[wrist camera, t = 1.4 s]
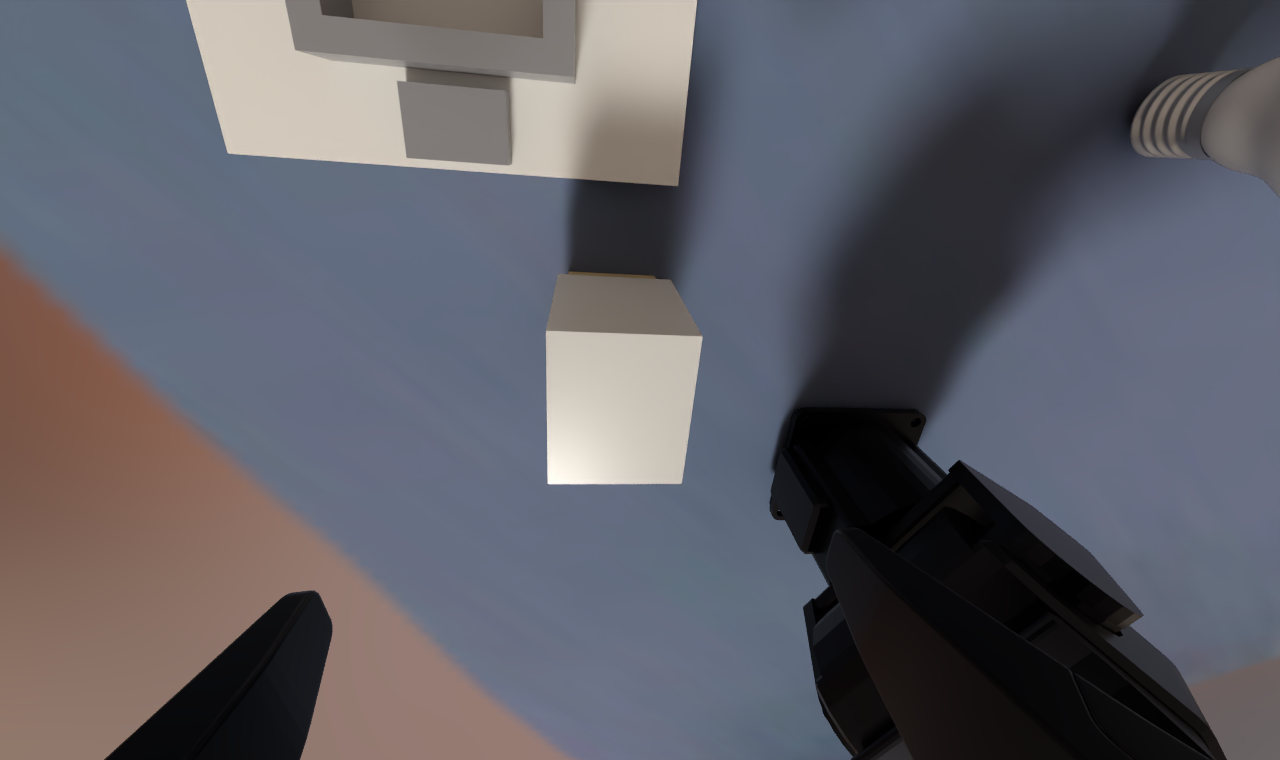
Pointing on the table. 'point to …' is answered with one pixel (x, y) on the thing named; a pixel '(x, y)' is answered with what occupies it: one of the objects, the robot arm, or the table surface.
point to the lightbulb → (1216, 120)
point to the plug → (619, 380)
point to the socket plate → (455, 83)
